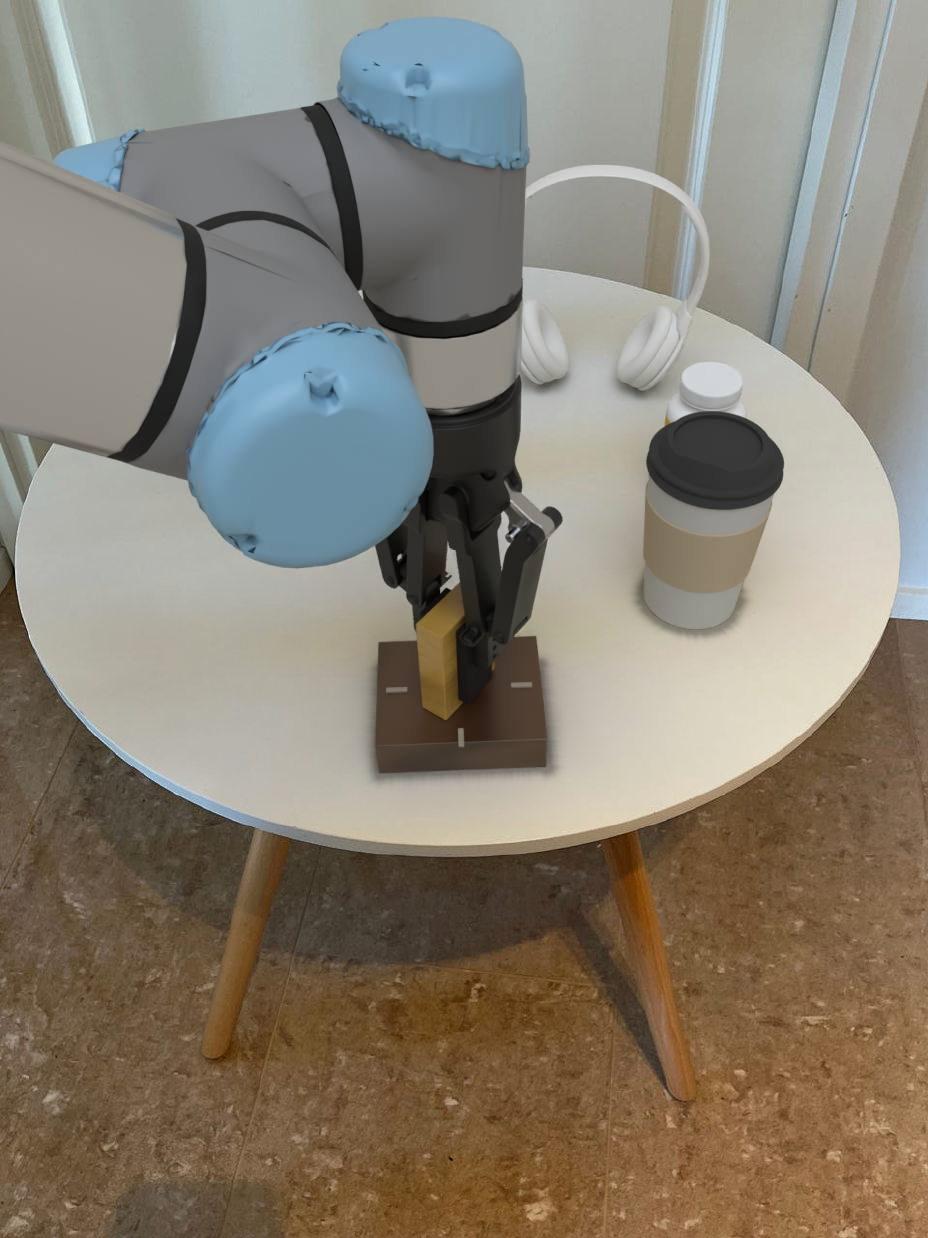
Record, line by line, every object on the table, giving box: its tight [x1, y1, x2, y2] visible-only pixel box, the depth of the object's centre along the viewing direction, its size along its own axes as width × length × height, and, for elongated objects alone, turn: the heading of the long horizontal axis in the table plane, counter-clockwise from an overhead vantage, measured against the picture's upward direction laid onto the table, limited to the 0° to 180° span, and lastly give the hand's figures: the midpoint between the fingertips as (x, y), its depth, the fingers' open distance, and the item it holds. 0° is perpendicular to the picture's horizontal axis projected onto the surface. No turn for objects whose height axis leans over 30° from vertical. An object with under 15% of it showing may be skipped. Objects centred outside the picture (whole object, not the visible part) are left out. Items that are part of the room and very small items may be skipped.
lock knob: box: [415, 581, 495, 720], centre depth 67 cm, size 6×2×8 cm, turn 144°
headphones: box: [521, 164, 711, 392], centre depth 92 cm, size 7×18×20 cm, turn 82°
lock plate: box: [374, 635, 548, 774], centre depth 71 cm, size 11×10×3 cm
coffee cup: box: [642, 411, 785, 630], centre depth 74 cm, size 9×9×15 cm
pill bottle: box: [664, 361, 747, 426], centre depth 84 cm, size 6×6×11 cm
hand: (458, 679), depth 70 cm, fingers closed on lock knob, 2 cm apart
